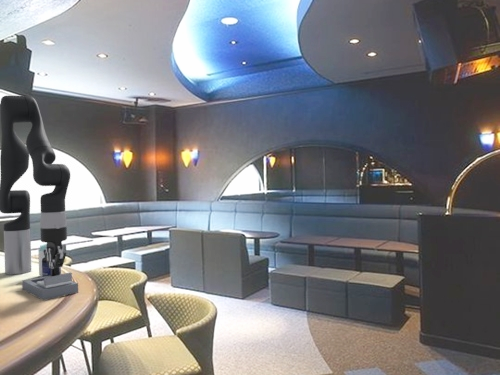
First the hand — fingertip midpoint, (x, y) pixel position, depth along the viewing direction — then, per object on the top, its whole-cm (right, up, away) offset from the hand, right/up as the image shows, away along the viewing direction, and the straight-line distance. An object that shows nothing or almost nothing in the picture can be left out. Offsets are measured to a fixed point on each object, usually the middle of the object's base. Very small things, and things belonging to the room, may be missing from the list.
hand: (55, 279), depth 125 cm
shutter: (-1, -1, +1) cm, 2 cm away
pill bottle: (-10, -5, +18) cm, 21 cm away
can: (-15, -5, +26) cm, 31 cm away
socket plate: (-4, -5, +4) cm, 7 cm away
